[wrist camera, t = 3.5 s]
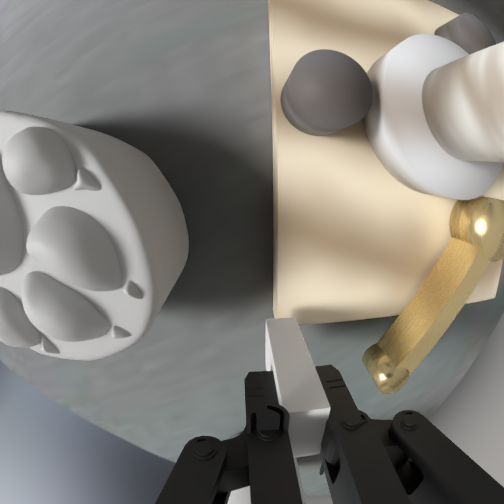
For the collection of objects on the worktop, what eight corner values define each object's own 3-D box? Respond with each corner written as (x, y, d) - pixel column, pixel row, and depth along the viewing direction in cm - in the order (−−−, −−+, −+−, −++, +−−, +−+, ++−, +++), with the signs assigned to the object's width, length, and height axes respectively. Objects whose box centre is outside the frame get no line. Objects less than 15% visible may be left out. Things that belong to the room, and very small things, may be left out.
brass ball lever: (465, 182, 14) (498, 186, 11) (490, 216, 15) (520, 224, 12) (347, 356, 16) (364, 386, 14) (382, 374, 17) (400, 401, 14)
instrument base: (266, -20, 12) (292, -149, 1) (475, 38, 13) (568, 5, 2) (272, 310, 18) (314, 475, 6) (480, 289, 19) (577, 352, 7)
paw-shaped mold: (51, 112, 14) (-41, 91, 6) (222, 186, 16) (205, 195, 8) (12, 249, 16) (-68, 288, 8) (156, 332, 18) (113, 427, 10)
